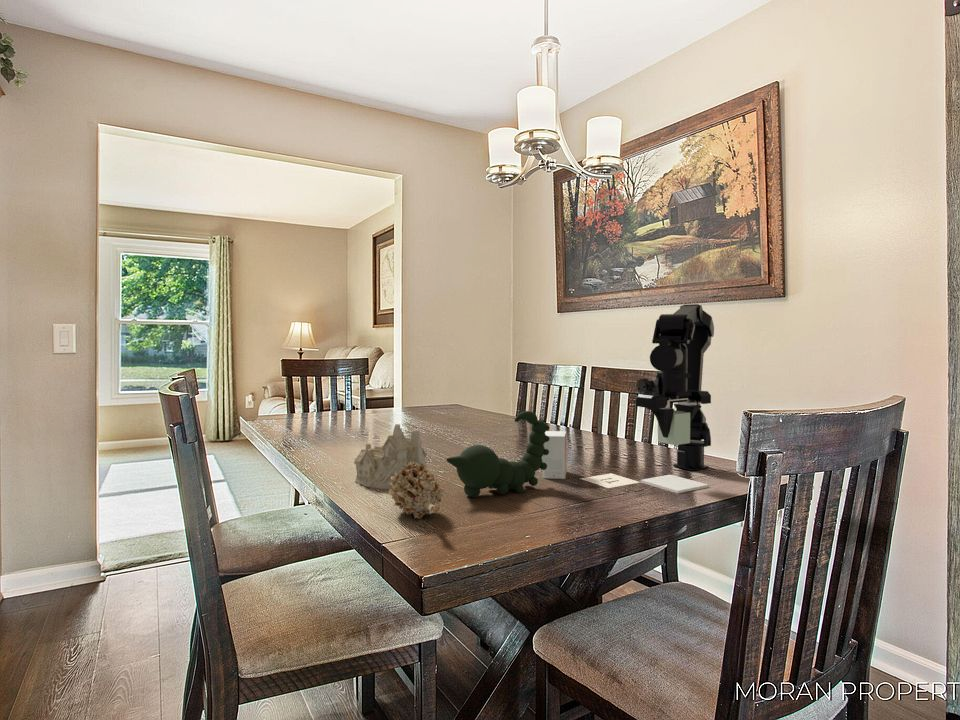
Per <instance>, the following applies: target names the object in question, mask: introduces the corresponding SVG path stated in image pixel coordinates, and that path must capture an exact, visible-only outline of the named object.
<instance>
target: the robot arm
mask: <svg viewBox="0 0 960 720" xmlns="http://www.w3.org/2000/svg"><path fill="white" fill-rule="evenodd" d="M703 309H704V308H703V306H702V304H698V303H694V304H689V303H688V304H683V305H680V307H679V309H677V310H676V311H675V312H673V313H669V314H668V313H666V314H664V313H663V314H660V315H659V317H658V319H656V322H655V326H654V330H653V331H654V332H653V336H652V341H651V343H652V344H653V345H654V344H658V345H657V346H655V347H654V348H653V349H652V350H651V352H650V355H649V362H650V364H651V367H653V368H654V369H655V370H657V371H660V372H656V377H655V379H654V380H649V379H648V378H640V379H638V380H637V383H636V388H637V392H638V395H637V396H636V397H635V406H636V407H638V408H639V407H640V408H646V409H647V410H650V411H651V412H652V414H653V415H654V417H655V418H656V421H657V425H658V424H659V426H660V429H661V432H662V435H663V437H666V438H667V437H668V435H669V432H670V427H671V422H672V417H673V413H674V410H675V411H682V412H689V413H690V443H687V444H680V445H677V451H676V455H677V456H676V459H677V460H676V463H673V465H672V466H673V467H675V468H679V469H684V470H687V471H691V472H693V471H700V470H706V469H709V468H710V466H709V465H706V464H705V448H707V447H711V446H712V437H711V429H710V427H709V425H708V422H707V418H706V417H707V416H705V414H704V412H703V411H702V409H701V408H702V405H706V404H712V395H711V394H710V392H709V391H708V390H702V387H703V386H702V385H703V384H702V383H703V368H704V356H705V355H704V354H705V353H706V351H707V350H708V349H709V347H710V346H711V343H712V338H713V337H714V334H715V325H714V322H713V321H714V320H713V317H712V315H711V314H709V313H707V312H706V311H705V310H703ZM670 404H673V406H674V407H675V408H672V407H670ZM701 404H702V405H701Z"/></svg>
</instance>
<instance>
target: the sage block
mask: <svg viewBox="0 0 960 720" xmlns="http://www.w3.org/2000/svg"><path fill="white" fill-rule="evenodd" d="M657 442H658V443H662V444H667V445H671V446H678V445H680V444H687V443H690V413H689V412H682V411H676V409H674V413H673V417H672V422H671V427H670V432H669V435H668V437H667V438H666V437H663V435H662V432H661V429H660V426H659V424H658V423H657Z"/></svg>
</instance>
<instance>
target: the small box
mask: <svg viewBox="0 0 960 720" xmlns="http://www.w3.org/2000/svg"><path fill="white" fill-rule="evenodd" d="M545 434H546V436H548V437H549V441H548V442H545V443H544V444H543V445H544V448H545V449H548V450H549V454H548V455H543V456H542V462H544V463H546V464H547V468H546V470H542V479H551V480H553V479H555V480H556V479H557V480H566V476H567V471H568V470H567V445H568V444H567V443H568V442H567V431H564V430H563V431H562V430H561V431H560V430H558V431H557V430H548V431H546V432H545Z"/></svg>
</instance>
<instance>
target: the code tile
mask: <svg viewBox="0 0 960 720" xmlns="http://www.w3.org/2000/svg"><path fill="white" fill-rule="evenodd" d="M579 480H583V481H586V482H589V483H592V484H595V485H597V486H600V487H604V488H606V489H611V488H617V487H623V486H628V485H634V484H638V483H641V481H638V480H634V479H631V478H629V477H628V478H627V477H624V476H621V475H619V474H618V475H617V474H615V473H611V472H610V473H606V474H598V475H593V476H588V477H581V478H579Z"/></svg>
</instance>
